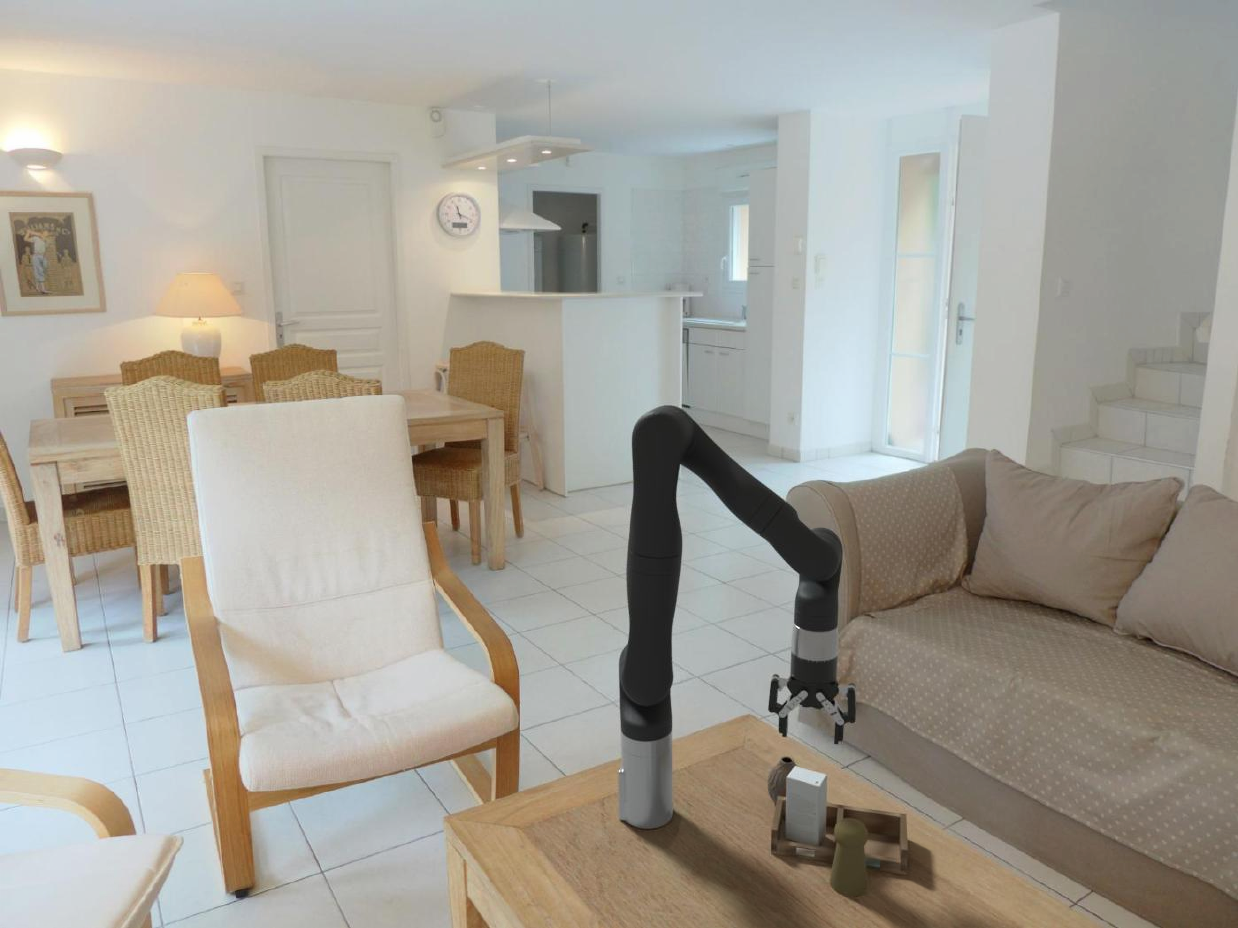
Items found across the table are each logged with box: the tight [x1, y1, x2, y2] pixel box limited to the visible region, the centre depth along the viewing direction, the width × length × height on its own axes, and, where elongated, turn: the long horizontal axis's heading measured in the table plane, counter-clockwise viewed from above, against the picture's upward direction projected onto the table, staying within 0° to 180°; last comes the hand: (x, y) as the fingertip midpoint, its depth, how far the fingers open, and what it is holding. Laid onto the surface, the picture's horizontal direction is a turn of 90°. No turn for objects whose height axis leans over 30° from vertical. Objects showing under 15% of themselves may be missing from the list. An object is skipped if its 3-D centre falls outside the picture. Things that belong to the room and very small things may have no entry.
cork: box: [829, 818, 869, 898], centre depth 145 cm, size 6×6×11 cm
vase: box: [767, 756, 799, 805], centre depth 167 cm, size 7×7×9 cm
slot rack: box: [770, 796, 909, 876], centre depth 155 cm, size 22×10×5 cm, turn 74°
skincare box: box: [786, 765, 828, 846], centre depth 155 cm, size 6×4×12 cm
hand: (810, 738), depth 152 cm, fingers open, 8 cm apart
